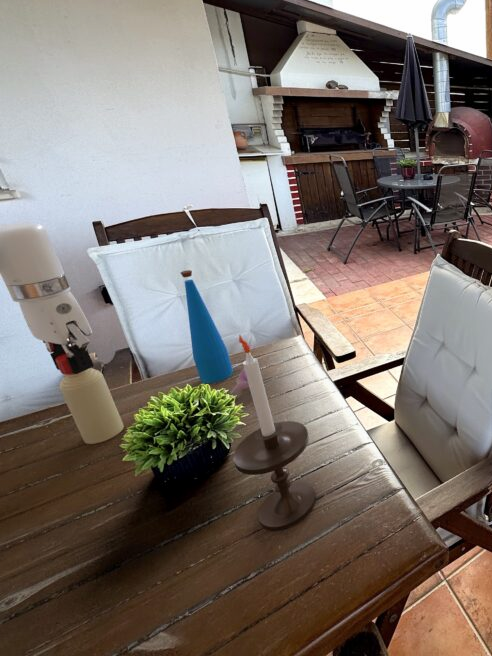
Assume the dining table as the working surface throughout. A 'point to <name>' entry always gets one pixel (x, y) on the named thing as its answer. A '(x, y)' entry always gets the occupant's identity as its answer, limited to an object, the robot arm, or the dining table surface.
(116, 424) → the sauce bottle
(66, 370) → the cap
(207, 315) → the bottle
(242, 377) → the lily
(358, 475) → the dining table surface
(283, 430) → the candlestick
